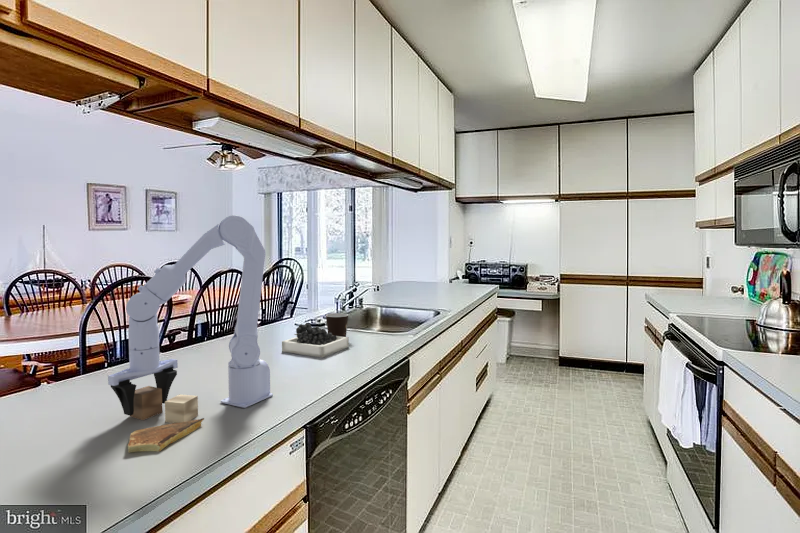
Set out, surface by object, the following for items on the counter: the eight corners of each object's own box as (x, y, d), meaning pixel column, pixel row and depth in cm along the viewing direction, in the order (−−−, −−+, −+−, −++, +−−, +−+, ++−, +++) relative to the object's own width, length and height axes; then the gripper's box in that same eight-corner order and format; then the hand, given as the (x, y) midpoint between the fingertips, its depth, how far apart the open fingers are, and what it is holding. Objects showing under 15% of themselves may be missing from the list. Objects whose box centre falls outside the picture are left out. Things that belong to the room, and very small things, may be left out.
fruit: (336, 319, 158) (294, 320, 154) (339, 330, 151) (295, 332, 146) (334, 339, 161) (293, 341, 157) (338, 352, 154) (294, 354, 150)
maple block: (179, 414, 96) (179, 394, 96) (198, 416, 96) (197, 395, 95) (165, 422, 92) (164, 401, 92) (184, 424, 91) (183, 403, 91)
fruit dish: (310, 342, 165) (310, 332, 165) (348, 347, 158) (348, 337, 157) (282, 351, 151) (281, 341, 151) (322, 357, 143) (322, 346, 143)
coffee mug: (341, 344, 162) (341, 317, 161) (321, 342, 165) (321, 316, 165) (355, 337, 173) (355, 312, 172) (336, 336, 176) (336, 311, 175)
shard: (204, 426, 91) (204, 416, 91) (208, 444, 83) (207, 433, 83) (131, 439, 85) (130, 428, 85) (127, 460, 77) (126, 448, 77)
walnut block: (149, 409, 99) (148, 385, 99) (162, 413, 97) (161, 388, 97) (129, 416, 95) (128, 391, 95) (142, 420, 93) (142, 395, 93)
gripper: (162, 338, 103) (164, 394, 104) (98, 352, 90) (100, 416, 91) (183, 341, 100) (184, 399, 101) (119, 356, 87) (121, 422, 88)
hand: (146, 408), depth 96 cm, fingers open, 7 cm apart
